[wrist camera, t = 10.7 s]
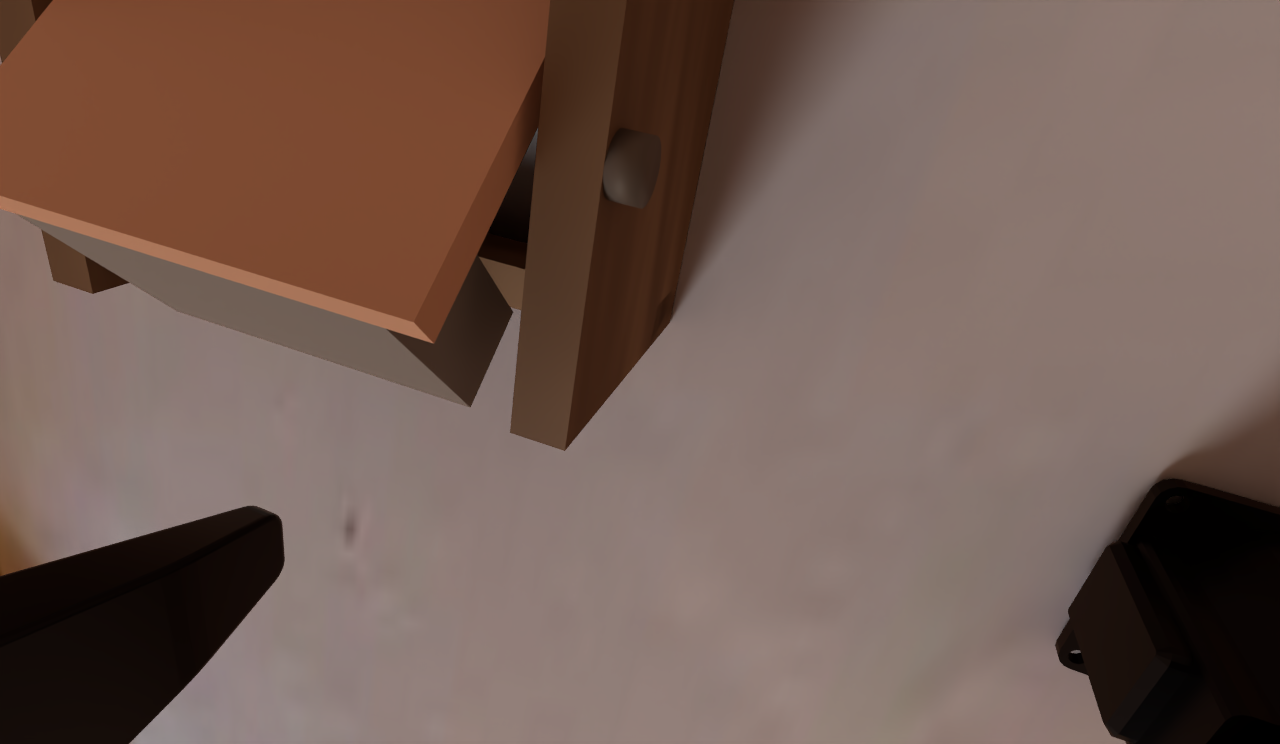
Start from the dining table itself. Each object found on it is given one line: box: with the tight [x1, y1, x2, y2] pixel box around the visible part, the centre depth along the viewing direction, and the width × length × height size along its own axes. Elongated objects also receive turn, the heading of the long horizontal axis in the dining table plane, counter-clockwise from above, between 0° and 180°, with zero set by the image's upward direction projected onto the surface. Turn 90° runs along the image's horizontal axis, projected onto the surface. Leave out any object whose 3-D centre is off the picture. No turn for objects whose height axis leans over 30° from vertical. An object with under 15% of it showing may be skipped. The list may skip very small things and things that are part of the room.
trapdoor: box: [0, 0, 550, 407], centre depth 15 cm, size 10×11×5 cm
